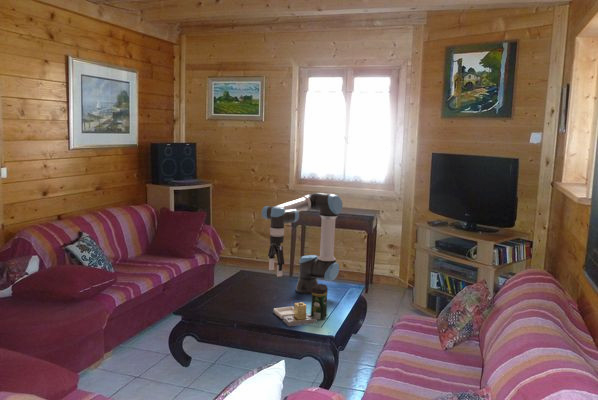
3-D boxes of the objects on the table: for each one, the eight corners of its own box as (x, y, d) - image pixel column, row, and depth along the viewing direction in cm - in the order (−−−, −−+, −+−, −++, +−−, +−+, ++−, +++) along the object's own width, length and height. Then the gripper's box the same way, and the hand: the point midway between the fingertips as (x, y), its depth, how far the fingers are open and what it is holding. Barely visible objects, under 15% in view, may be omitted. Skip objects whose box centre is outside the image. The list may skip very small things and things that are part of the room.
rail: (309, 317, 286) (310, 313, 286) (316, 322, 279) (316, 318, 279) (283, 321, 280) (283, 316, 279) (288, 326, 272) (289, 321, 272)
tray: (292, 310, 298) (292, 306, 298) (300, 316, 287) (300, 312, 287) (273, 312, 293) (273, 308, 293) (281, 319, 283) (281, 315, 282)
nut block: (302, 320, 283) (302, 301, 281) (305, 323, 278) (306, 304, 277) (293, 321, 281) (294, 302, 279) (297, 324, 276) (298, 305, 275)
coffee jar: (315, 313, 293) (316, 281, 291) (328, 316, 290) (329, 284, 288) (308, 318, 285) (309, 286, 282) (321, 321, 281) (323, 288, 279)
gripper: (263, 231, 294) (262, 267, 296) (278, 240, 271) (276, 279, 273) (275, 231, 297) (274, 267, 299) (291, 239, 274) (289, 278, 276)
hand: (275, 273), depth 286 cm, fingers open, 13 cm apart
